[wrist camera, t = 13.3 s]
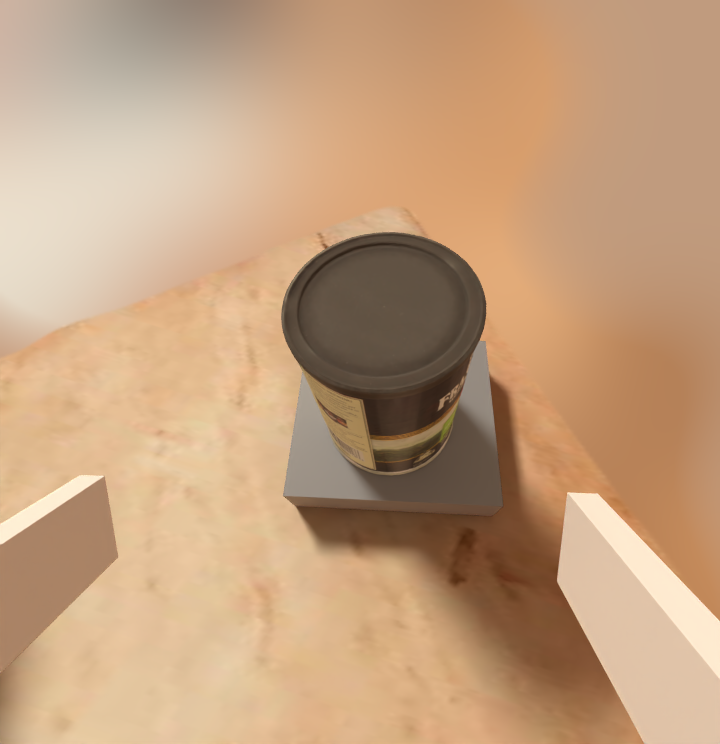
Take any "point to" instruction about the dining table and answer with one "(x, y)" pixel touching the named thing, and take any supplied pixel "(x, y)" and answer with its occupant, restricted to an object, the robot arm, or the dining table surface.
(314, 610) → the dining table surface
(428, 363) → the coffee can
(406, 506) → the riser
